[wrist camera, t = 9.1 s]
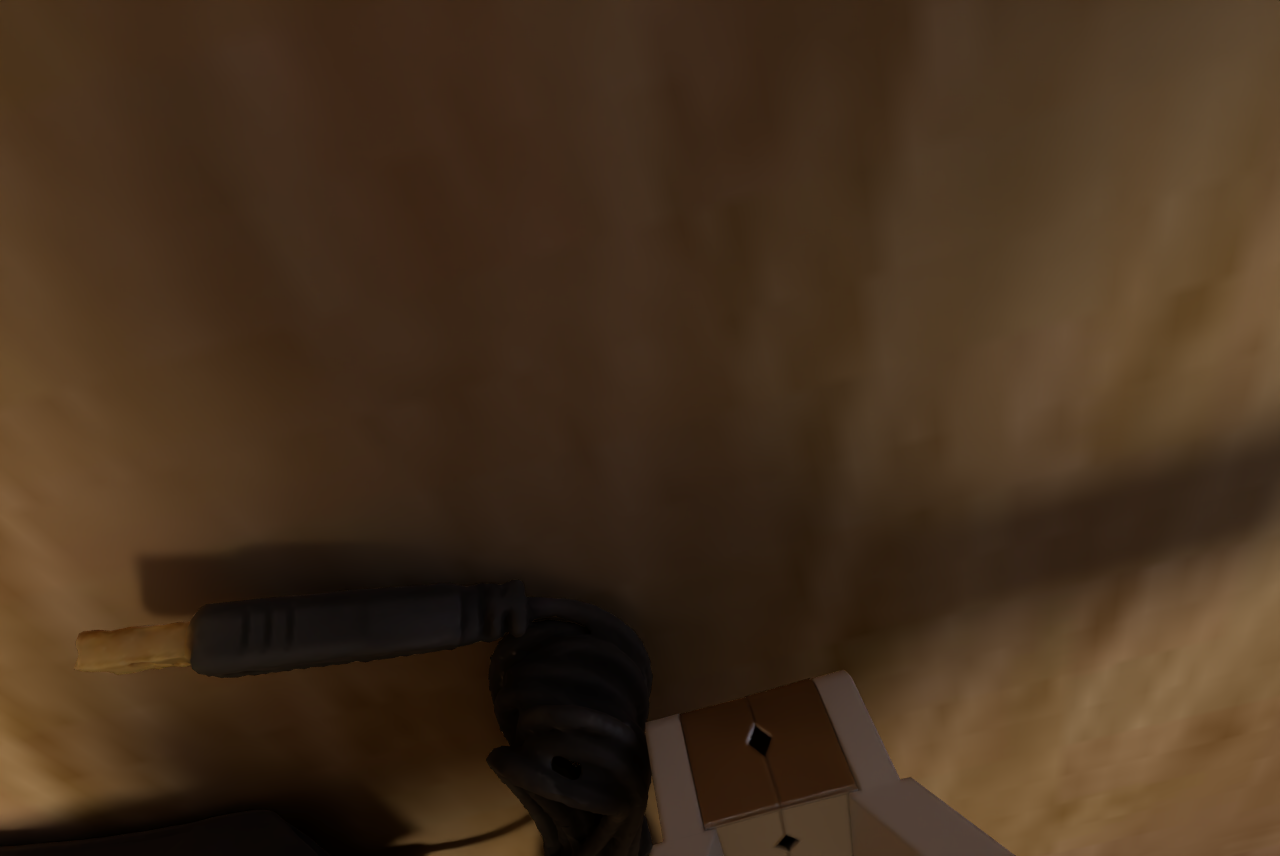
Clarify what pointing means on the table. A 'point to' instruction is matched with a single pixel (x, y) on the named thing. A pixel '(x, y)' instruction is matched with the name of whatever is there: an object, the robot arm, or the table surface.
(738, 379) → the table surface
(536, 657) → the computer mouse
